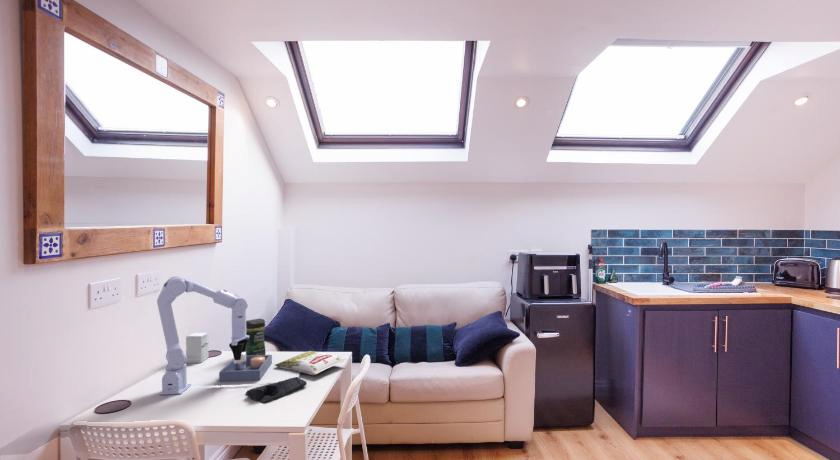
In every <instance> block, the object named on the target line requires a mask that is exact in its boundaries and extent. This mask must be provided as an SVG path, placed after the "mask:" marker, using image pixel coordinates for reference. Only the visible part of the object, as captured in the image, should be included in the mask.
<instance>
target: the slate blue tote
mask: <svg viewBox="0 0 840 460" xmlns="http://www.w3.org/2000/svg"><path fill="white" fill-rule="evenodd" d="M259 356H262V357H265V361H264V363H263V364H262V365H261V367H260V368H259V369H257V370H254V369H251V358H253V357H259ZM272 364H273V355H272V354H266V355H251V356H246V370H239V371H234V357H233V358H232V359H231V360H230V361H229V362H228V363H227V364H226V365H225V366H224V367H223V368H222V369H220V370H219V372H218V377H219V380H218V381H219V383H224V382H226V383H229V382H249V381H251V382H252V381H253V382H254V381H261V380H262V379H263V377H264V376H265V374H266V373H267V371H268V370H269V369H270V367H271V366H272Z"/></svg>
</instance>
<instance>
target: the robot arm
mask: <svg viewBox="0 0 840 460" xmlns="http://www.w3.org/2000/svg"><path fill="white" fill-rule="evenodd" d="M185 292H186V293H193V292H194V293H198V294H200V295H203V296H206V297H208V298H212V300H213V303H214V304H218V305H220V306H223V307H225V308H228V309H231V338H230V339H231V342H230V343H229V345H228V346H229V348H230V350H231V351H232V355H233V358H234V359H235V360H240V359H241V352H242V351H245V349H246V345H247V342H248V340H249V335H246V321H247V309H248V306H249V305H248V302H247V301H246V299H244V298H243V297H241V296H239V295H238V294H234V293H230V292H228V290H227V289H225V288H224V289H218V290H214V289H212V288H210V287H208V286H206V285H203V284H201V283H198V282H196V281H194V280H191V279H187V278H182V277H179V276H171V277H169V279H167V280H166V281H165V282H164V283H163V286H162V288H161V290H160V293H159V295H158V297H157V299H156V305H157V308H158V313H159V317H160V321H161V327H162V332H163V336H164V340H165V346H166V350H167V351H166V354H165V358H166V359H165V360H166V361H167V364H166V365H165V373H164V374H163V375H162V377H161V378H162V379H161V388H162V389H161V392H160V393H159V395H163V396H164V395H182V394H183V393H184V392H185V391H186V390H187V389H188V388H189V387H190V386H191V385H192V384H191V383H187V382H188V381H187V379H188V377H187V363H186V354H185V353H184V351H183V349H182V346H181V344H180V340H179V334H178V329H177V325H176V320H175V316H174V310H173V306H172V304H173V302H174V301H175V300H176V299H177V298H178V297H179V296H181V295H182V294H184V293H185Z"/></svg>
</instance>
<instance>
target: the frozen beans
mask: <svg viewBox="0 0 840 460" xmlns="http://www.w3.org/2000/svg"><path fill="white" fill-rule="evenodd" d="M345 361H347V359H345V358H343V357H340V356H339V355H334V354H329V353H324V352H318V351H313V350H308V351H305V352H303V353H300V354H297V355H295V356H292V357H290V358H288V359H286V360H283V361H281V362H278V363H275V364H274V366H276V367H277V368H280V369H283V370H290V371H295V372H299V373H301V374H304V375H305V374H306V375H310V376H315V375H317V374H319V373H321V372H323V371H325V370H327V369H329V368H331V367H333V366H334V367H335V366H336V365H338V364H341V363H344V362H345Z"/></svg>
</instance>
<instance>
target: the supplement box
mask: <svg viewBox="0 0 840 460" xmlns="http://www.w3.org/2000/svg"><path fill="white" fill-rule="evenodd" d="M185 346H186V347H185V348H186V349H185V352H186V353H185V356H186V363H185V364H202V363H203V362H205V361H206V360H208V359H209V332H192V333H191V334H189V335H187V336H185Z"/></svg>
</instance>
